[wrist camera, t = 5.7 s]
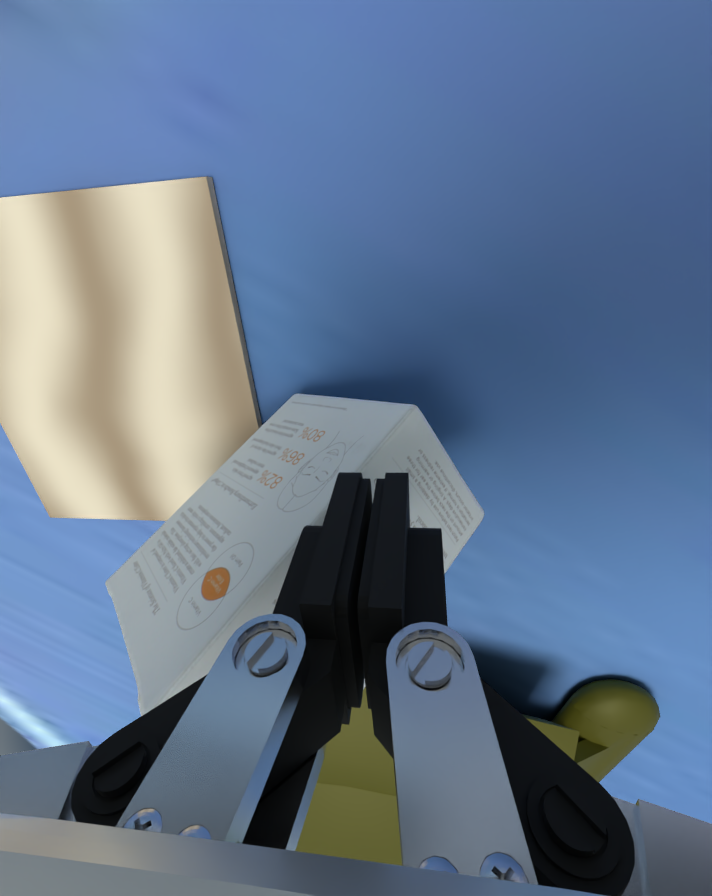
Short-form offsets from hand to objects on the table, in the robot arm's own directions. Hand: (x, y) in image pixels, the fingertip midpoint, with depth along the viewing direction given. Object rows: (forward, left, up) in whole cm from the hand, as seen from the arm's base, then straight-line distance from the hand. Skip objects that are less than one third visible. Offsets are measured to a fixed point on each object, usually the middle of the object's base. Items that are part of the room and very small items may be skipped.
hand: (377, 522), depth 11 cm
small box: (0, +1, -7) cm, 7 cm away
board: (+14, 0, -10) cm, 17 cm away
